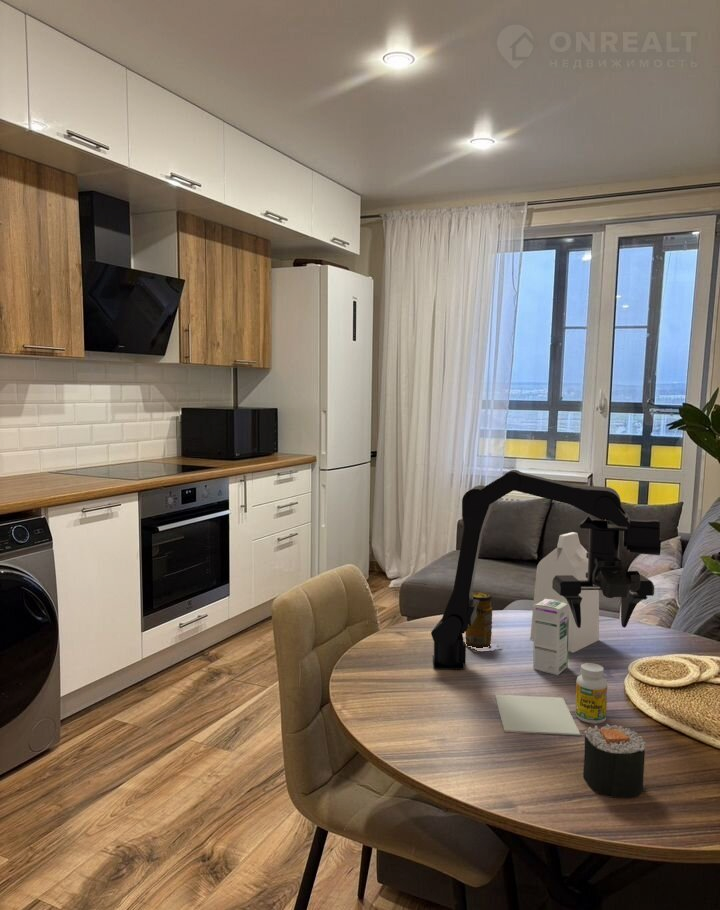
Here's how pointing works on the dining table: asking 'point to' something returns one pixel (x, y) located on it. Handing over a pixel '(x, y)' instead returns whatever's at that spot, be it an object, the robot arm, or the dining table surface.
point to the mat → (535, 715)
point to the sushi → (614, 761)
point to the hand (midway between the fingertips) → (601, 627)
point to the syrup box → (551, 636)
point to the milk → (562, 562)
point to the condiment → (480, 623)
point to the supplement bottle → (591, 694)
